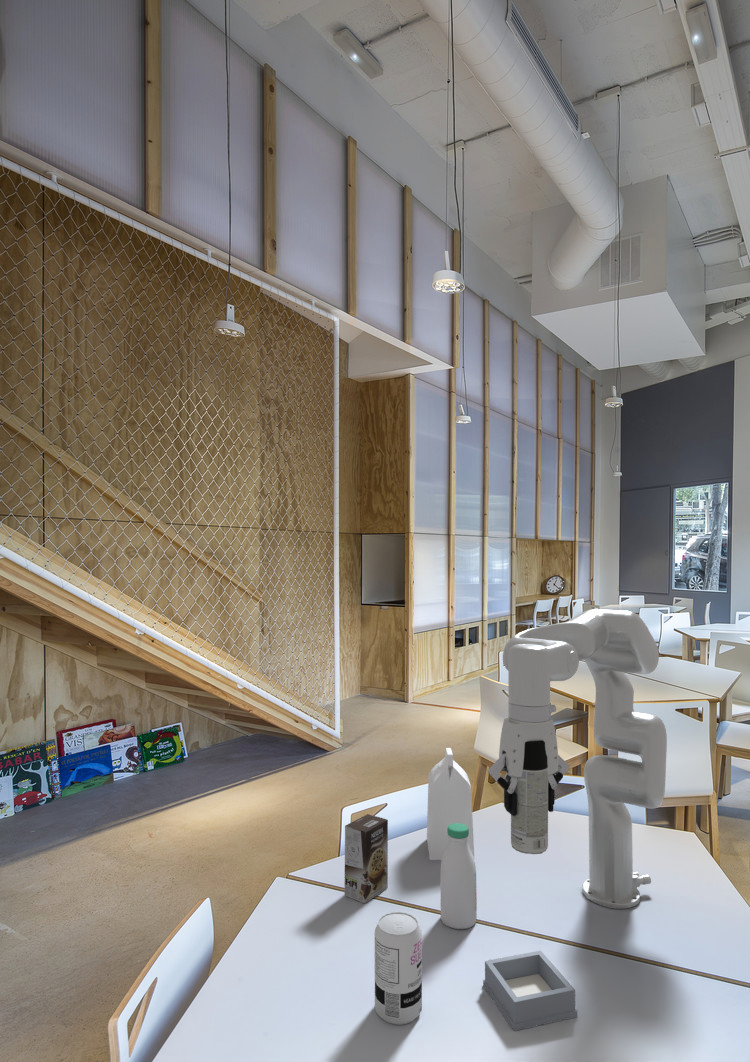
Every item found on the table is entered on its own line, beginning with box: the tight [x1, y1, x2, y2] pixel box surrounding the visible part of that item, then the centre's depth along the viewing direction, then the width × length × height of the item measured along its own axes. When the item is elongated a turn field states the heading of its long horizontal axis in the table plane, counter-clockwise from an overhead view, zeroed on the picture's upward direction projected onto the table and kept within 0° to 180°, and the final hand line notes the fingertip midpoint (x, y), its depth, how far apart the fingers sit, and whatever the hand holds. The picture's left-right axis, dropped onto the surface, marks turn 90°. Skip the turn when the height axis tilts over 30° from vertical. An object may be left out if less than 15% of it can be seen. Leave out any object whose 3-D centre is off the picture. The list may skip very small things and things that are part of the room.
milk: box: [426, 747, 475, 861], centre depth 177 cm, size 12×12×26 cm
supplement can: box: [374, 911, 423, 1026], centre depth 115 cm, size 8×8×15 cm
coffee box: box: [343, 813, 389, 904], centre depth 155 cm, size 9×6×16 cm
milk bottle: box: [440, 823, 478, 930], centre depth 143 cm, size 8×8×20 cm
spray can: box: [510, 735, 549, 855], centre depth 121 cm, size 7×7×20 cm
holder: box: [482, 950, 579, 1032], centre depth 118 cm, size 12×12×4 cm
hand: (529, 810), depth 121 cm, fingers closed on spray can, 6 cm apart
